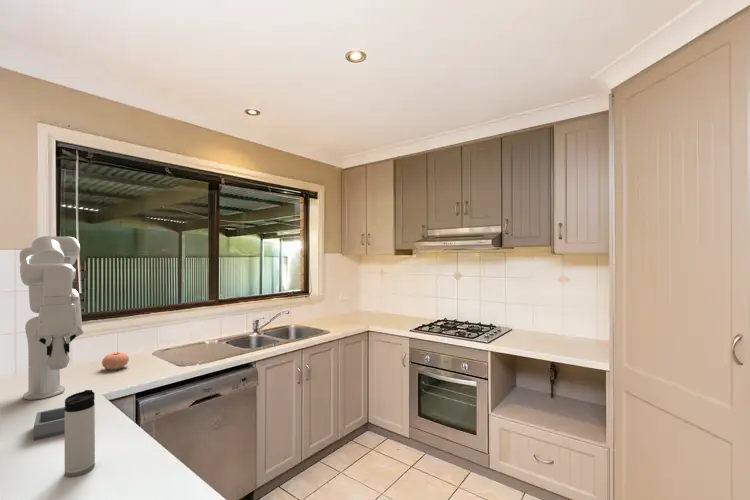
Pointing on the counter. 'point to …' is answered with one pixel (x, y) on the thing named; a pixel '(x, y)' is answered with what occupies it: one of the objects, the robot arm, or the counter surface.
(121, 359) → the orange pumpkin
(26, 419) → the counter surface
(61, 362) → the salt shaker
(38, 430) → the box
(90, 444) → the travel mug
